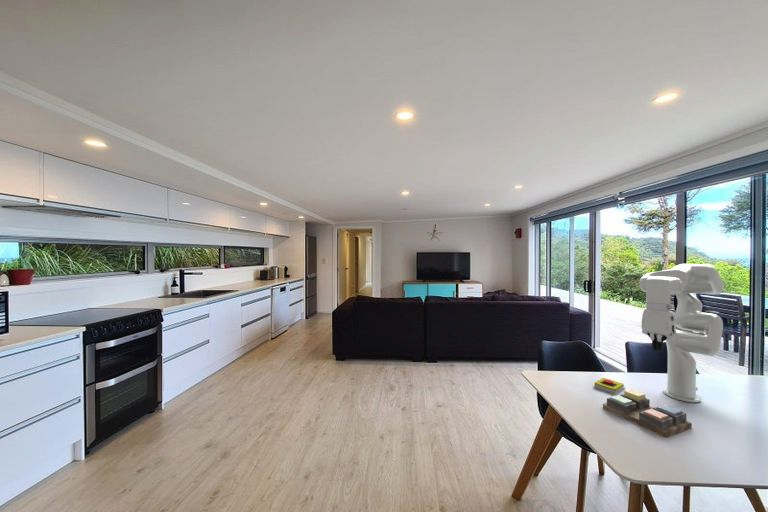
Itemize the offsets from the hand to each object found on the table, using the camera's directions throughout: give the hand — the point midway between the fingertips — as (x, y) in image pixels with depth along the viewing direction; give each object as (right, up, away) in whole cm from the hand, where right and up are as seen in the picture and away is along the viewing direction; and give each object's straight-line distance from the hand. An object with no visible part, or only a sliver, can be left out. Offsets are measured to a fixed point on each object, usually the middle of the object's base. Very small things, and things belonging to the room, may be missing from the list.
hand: (657, 350), depth 124 cm
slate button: (-2, -25, -7) cm, 26 cm away
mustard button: (-6, -23, +4) cm, 25 cm away
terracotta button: (-10, -25, -10) cm, 29 cm away
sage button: (-15, -25, +1) cm, 29 cm away
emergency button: (-2, -28, +24) cm, 37 cm away
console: (-8, -27, -3) cm, 28 cm away
